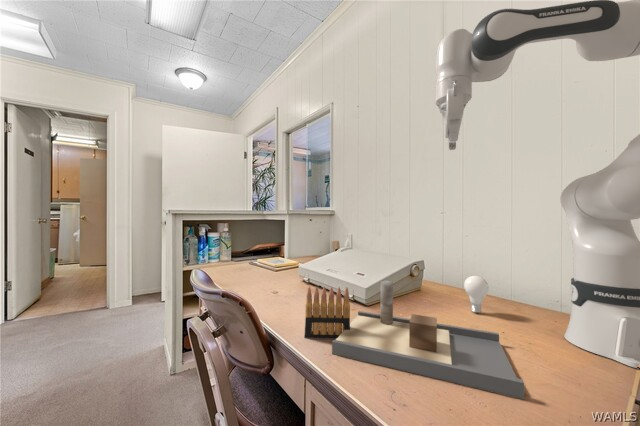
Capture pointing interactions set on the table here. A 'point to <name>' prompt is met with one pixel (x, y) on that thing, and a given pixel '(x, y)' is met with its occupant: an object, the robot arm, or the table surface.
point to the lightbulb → (476, 291)
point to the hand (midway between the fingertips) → (453, 145)
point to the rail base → (466, 356)
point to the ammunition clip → (321, 321)
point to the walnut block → (423, 333)
